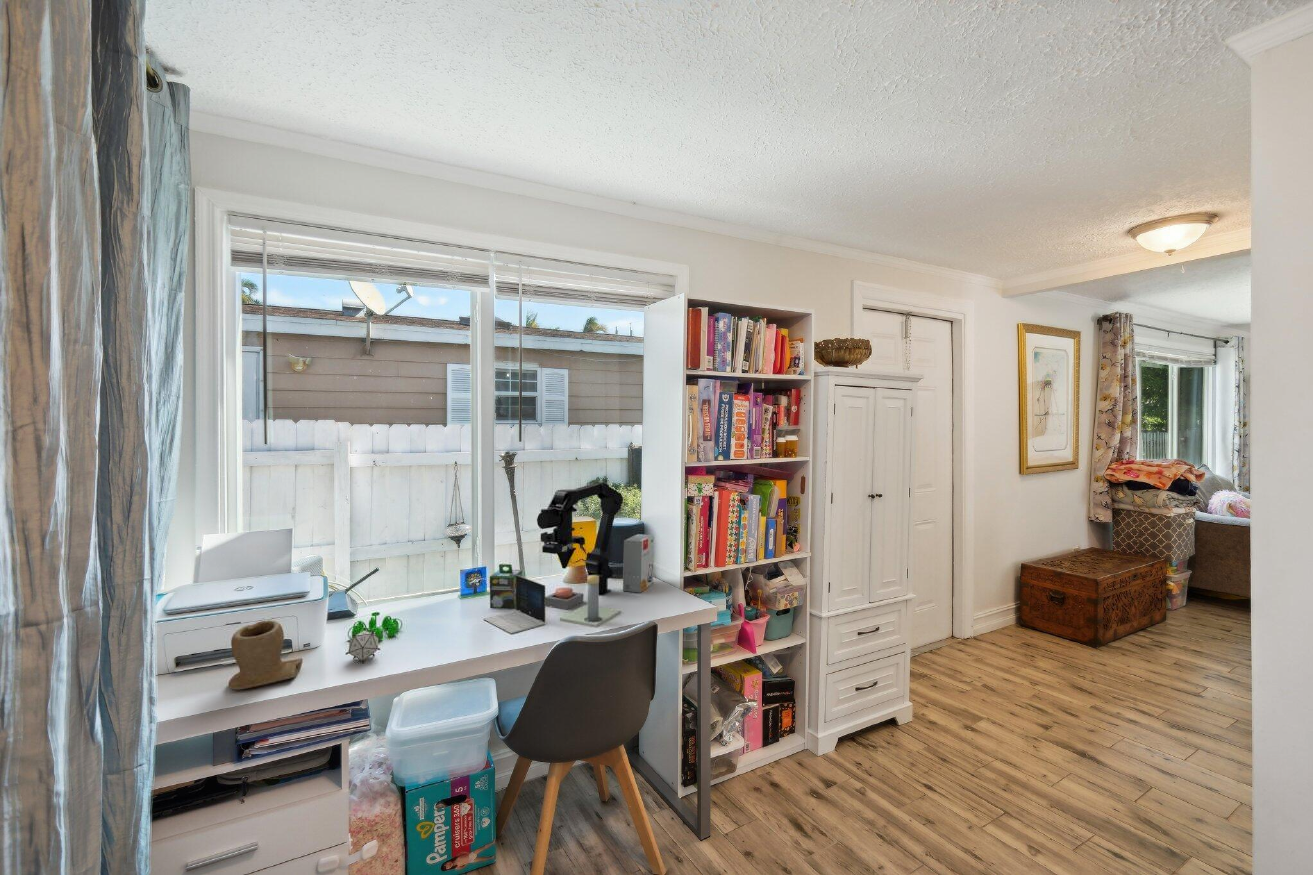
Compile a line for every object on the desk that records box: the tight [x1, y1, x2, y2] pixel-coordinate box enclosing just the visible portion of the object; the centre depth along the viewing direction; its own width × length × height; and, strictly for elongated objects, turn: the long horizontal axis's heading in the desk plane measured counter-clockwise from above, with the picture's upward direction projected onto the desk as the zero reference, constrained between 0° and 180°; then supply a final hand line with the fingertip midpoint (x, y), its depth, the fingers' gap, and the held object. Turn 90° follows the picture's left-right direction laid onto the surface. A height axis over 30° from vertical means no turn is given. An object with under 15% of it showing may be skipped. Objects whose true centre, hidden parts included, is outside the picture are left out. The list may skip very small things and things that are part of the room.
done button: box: [555, 587, 574, 599], centre depth 203 cm, size 6×6×2 cm
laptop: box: [483, 575, 546, 635], centre depth 184 cm, size 18×12×13 cm
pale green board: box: [559, 603, 622, 628], centre depth 190 cm, size 16×14×1 cm
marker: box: [586, 575, 600, 621], centre depth 185 cm, size 4×4×14 cm
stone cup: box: [228, 619, 303, 691], centre depth 140 cm, size 15×12×15 cm
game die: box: [345, 626, 381, 664], centre depth 154 cm, size 9×8×10 cm
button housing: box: [545, 591, 584, 611], centre depth 203 cm, size 10×10×3 cm
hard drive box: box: [622, 533, 655, 593], centre depth 225 cm, size 16×8×20 cm, turn 161°
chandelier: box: [347, 611, 403, 642], centre depth 172 cm, size 15×15×7 cm
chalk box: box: [489, 563, 523, 610], centre depth 202 cm, size 9×9×15 cm
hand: (564, 568), depth 203 cm, fingers closed
